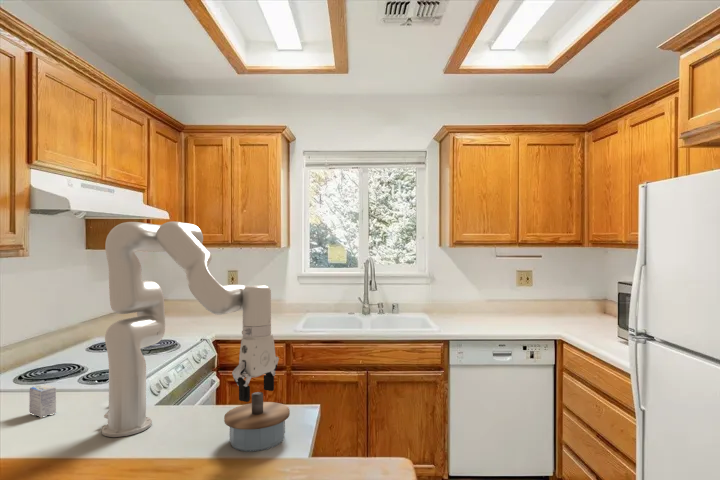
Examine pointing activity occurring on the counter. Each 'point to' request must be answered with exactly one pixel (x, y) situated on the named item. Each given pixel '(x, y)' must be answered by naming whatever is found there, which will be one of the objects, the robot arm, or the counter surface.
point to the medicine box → (42, 400)
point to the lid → (256, 414)
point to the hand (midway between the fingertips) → (257, 395)
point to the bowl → (257, 437)
